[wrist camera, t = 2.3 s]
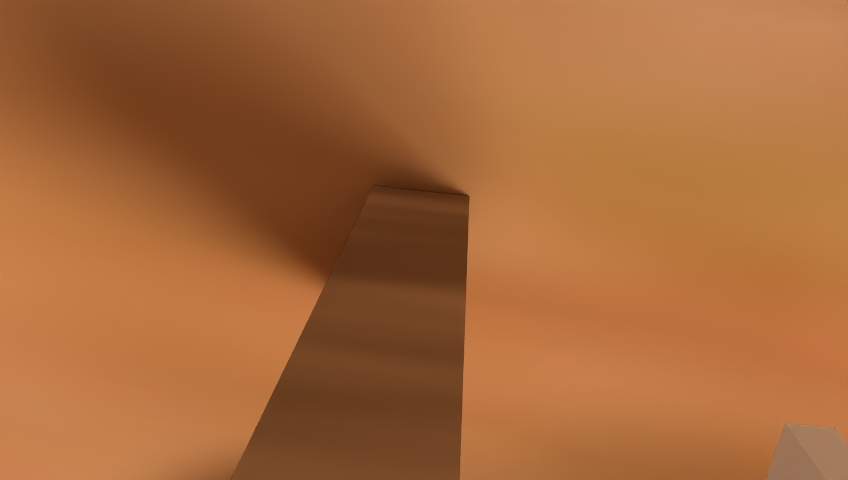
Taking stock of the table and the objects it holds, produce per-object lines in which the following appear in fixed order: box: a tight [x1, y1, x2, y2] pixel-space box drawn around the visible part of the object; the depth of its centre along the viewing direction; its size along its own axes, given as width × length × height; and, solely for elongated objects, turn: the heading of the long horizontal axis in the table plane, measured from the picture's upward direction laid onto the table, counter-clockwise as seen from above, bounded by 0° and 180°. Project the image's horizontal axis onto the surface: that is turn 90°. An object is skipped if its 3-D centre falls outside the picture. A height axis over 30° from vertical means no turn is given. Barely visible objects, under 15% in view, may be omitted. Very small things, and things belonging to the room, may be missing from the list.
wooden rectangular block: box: [231, 185, 469, 480], centre depth 12 cm, size 3×2×11 cm
